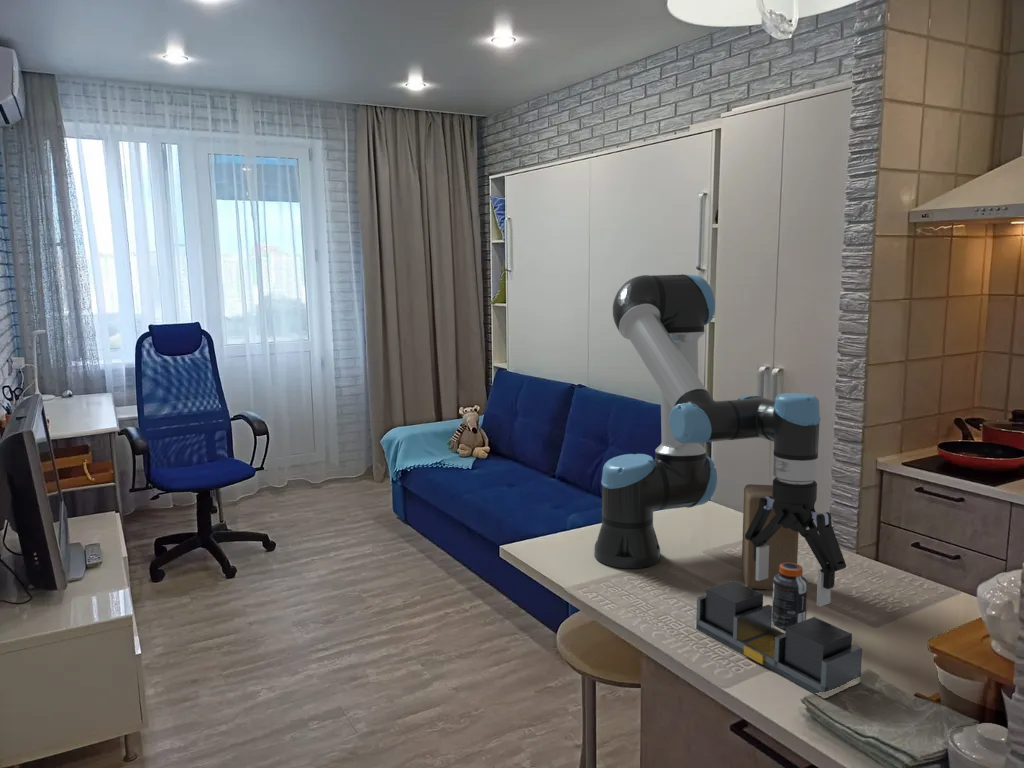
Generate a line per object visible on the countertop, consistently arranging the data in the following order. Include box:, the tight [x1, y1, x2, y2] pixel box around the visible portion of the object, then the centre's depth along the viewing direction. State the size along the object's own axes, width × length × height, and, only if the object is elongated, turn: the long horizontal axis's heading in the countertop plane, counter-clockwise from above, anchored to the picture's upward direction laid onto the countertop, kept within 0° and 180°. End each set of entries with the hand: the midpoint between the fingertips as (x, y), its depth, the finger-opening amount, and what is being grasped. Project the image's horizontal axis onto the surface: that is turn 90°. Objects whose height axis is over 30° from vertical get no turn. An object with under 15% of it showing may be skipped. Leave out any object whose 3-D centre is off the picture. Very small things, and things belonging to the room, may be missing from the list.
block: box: [741, 483, 800, 591], centre depth 155 cm, size 10×10×20 cm
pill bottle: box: [771, 563, 808, 630], centre depth 137 cm, size 6×6×11 cm
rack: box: [695, 580, 863, 694], centre depth 126 cm, size 27×9×8 cm, turn 31°
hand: (791, 591), depth 136 cm, fingers open, 13 cm apart
